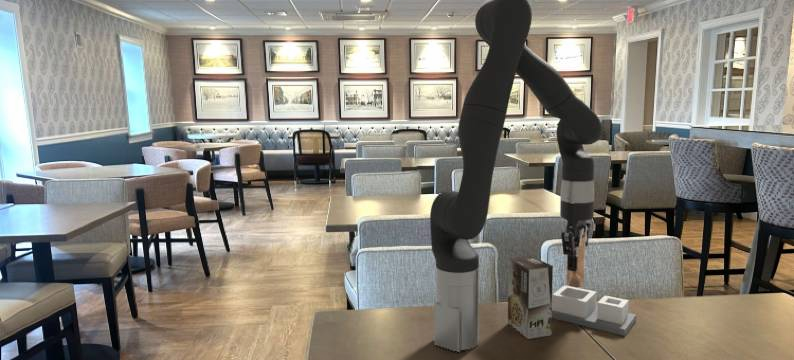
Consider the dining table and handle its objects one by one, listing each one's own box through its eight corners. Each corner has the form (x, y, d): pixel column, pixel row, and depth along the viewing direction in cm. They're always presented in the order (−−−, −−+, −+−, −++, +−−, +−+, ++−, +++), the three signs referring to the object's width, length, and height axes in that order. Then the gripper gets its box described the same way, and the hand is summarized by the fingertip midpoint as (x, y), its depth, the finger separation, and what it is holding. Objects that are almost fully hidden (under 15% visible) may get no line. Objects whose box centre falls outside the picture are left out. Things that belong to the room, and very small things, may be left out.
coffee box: (552, 335, 113) (554, 266, 110) (527, 340, 111) (528, 269, 109) (530, 319, 121) (531, 254, 119) (506, 323, 119) (507, 257, 117)
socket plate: (624, 336, 112) (625, 312, 111) (550, 317, 122) (550, 295, 121) (636, 320, 119) (637, 298, 119) (565, 304, 130) (565, 284, 129)
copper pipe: (580, 288, 120) (581, 239, 118) (564, 285, 122) (565, 237, 120) (586, 283, 123) (587, 235, 121) (569, 280, 125) (571, 233, 124)
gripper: (571, 192, 127) (570, 258, 130) (550, 201, 116) (549, 273, 119) (602, 195, 123) (600, 263, 125) (583, 205, 112) (581, 279, 114)
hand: (575, 267), depth 122 cm, fingers closed on copper pipe, 4 cm apart
